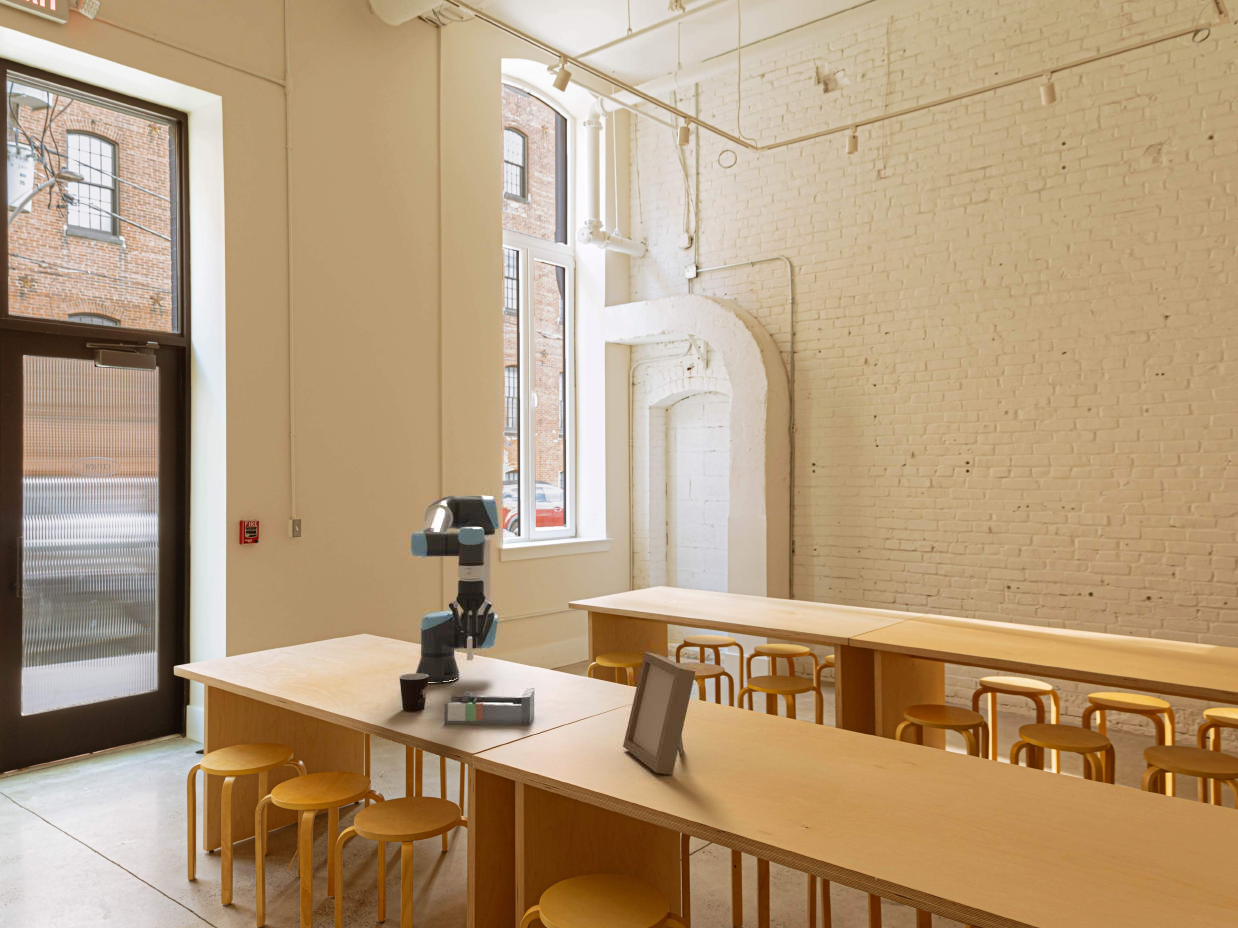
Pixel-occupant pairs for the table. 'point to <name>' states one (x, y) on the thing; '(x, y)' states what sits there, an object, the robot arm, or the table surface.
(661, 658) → the photo frame
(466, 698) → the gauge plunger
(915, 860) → the table surface
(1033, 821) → the table surface
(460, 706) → the gauge housing
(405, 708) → the coffee mug
